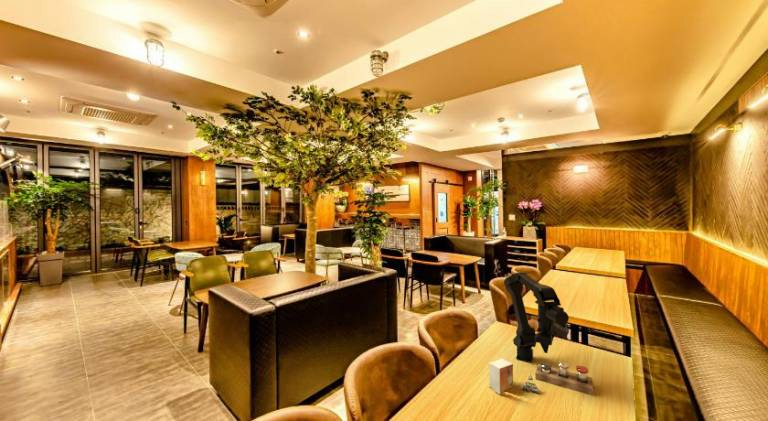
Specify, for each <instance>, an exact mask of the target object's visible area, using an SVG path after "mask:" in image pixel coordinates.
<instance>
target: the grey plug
mask: <svg viewBox="0 0 768 421" xmlns="http://www.w3.org/2000/svg"><path fill="white" fill-rule="evenodd" d="M540 364H541V368H542V372H545V373H549V374H550V369H551V367H552V365H551V364H550V363H548V362H541V363H540Z"/></svg>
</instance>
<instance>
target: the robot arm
mask: <svg viewBox="0 0 768 421" xmlns="http://www.w3.org/2000/svg"><path fill="white" fill-rule="evenodd" d="M503 284H504V286H505V290H506V292H508V294H510V297H511V300H512V305H513V309H514V313H515V318H516V321H517V327H516V331H515V334H516V336H514V338H513V339H512V342H513V345H514V346H516V357H515V359H516V360H519V361H523V362H527V363H532V361H533V359H534V349H533V348H535V347H536V345H537V343H538V344H540V346H541V349H542V351H543V353H545V354H548V352H549V348H550V346H552V345H553V341H554V339H555V335H556V336H559V337H561V338H562V339H564V340H566V339H567V337H568V334H569V333H570V329H569V328H568V327H567V324H568V322H569V319H570V318H569V315H568V313H567V312H566V311H565V308H564V307H562V304H561V299H559V297H558V294H557V293H556V291H555V289H554V288H553V287H552V286H549V285H546V284H542V283H540V282H538V281H537V280H536V279H534V278H532V277H531V276H530V275H528V274H527V272H526V271H525V272H524V271H522V272H521V271H520V272H515V273H514V274H512V275H509V276H507V277H505V279H504V281H503ZM524 287H526V288H527V289H529V291H531V292H532V294H533V297H534V298H535V299H536V300H535V301H534V302H535V304H537V320H536V321H537V333H536V328H535V327H532V326H531V325H530V324H529V323H530V322H529V319H528V315H527V311H526V307H525V304H524V299H523V295H522V293H523V291H524ZM554 334H555V335H554Z"/></svg>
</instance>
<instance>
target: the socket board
mask: <svg viewBox="0 0 768 421" xmlns="http://www.w3.org/2000/svg"><path fill="white" fill-rule="evenodd" d="M534 374H535V378H534V379H535V380H536V381H540V382H543V383H546V384H550V385H553V386H557V387H561V388H564V389H568V390H571V391H573V392H574V391H575V392H579V393H583V394H585V395H589V396H594V386H593V385H594V383H593V382H594V381H593V380H594V379H593V377H591V376H587V384H586V383H582V382H578V373H576V372H571V371H568V379H567V378H564V377H560V376H559V368H557V367H552V366H551V369H550V374H549V373H545V372H542V368H541V363H538V364H537V367H536V370H535V373H534Z"/></svg>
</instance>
